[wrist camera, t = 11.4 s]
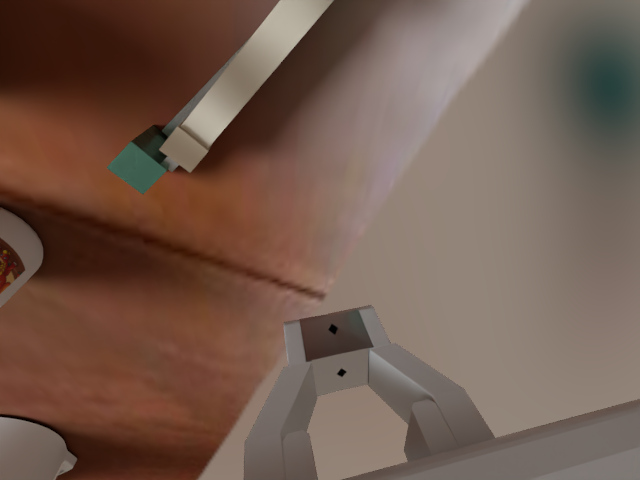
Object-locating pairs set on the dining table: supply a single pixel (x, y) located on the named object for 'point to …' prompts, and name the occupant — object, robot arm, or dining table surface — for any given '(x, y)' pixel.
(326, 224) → the dining table surface
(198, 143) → the grey rectangular bar
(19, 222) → the milk bottle
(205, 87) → the grey metal rod
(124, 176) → the dark green brushed box
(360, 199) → the dining table surface
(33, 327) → the dining table surface
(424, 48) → the dining table surface
